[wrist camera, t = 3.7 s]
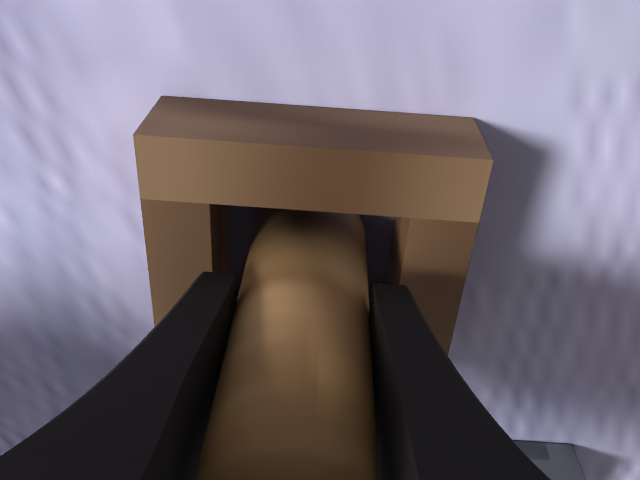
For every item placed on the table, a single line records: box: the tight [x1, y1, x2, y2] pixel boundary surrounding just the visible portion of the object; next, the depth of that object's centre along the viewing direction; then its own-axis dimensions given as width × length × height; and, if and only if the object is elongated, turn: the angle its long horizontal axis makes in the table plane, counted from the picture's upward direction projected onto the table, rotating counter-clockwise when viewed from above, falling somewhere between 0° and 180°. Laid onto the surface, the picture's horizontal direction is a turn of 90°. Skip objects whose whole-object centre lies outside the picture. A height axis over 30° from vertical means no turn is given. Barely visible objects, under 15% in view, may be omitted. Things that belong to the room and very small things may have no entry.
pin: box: [195, 208, 378, 480], centre depth 11 cm, size 3×3×7 cm
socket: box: [133, 96, 494, 356], centre depth 13 cm, size 6×6×2 cm
